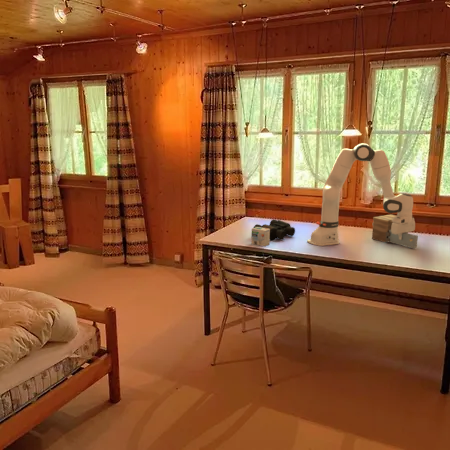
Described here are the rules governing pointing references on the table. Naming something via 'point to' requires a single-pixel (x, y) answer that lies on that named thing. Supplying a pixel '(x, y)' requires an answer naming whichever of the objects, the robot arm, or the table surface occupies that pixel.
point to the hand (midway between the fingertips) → (402, 239)
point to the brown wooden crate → (382, 227)
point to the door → (404, 239)
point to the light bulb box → (260, 236)
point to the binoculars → (278, 229)
